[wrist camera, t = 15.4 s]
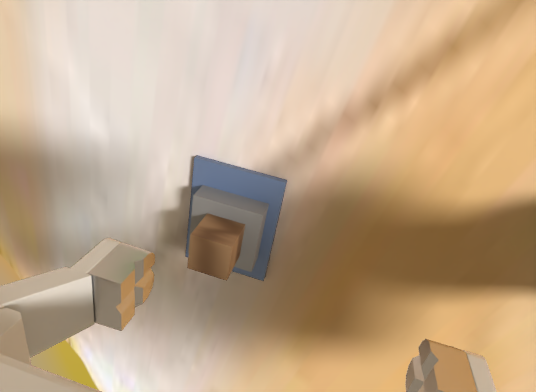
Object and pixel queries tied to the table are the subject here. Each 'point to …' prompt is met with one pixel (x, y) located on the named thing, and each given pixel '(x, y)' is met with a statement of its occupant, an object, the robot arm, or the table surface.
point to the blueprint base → (246, 189)
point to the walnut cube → (215, 246)
